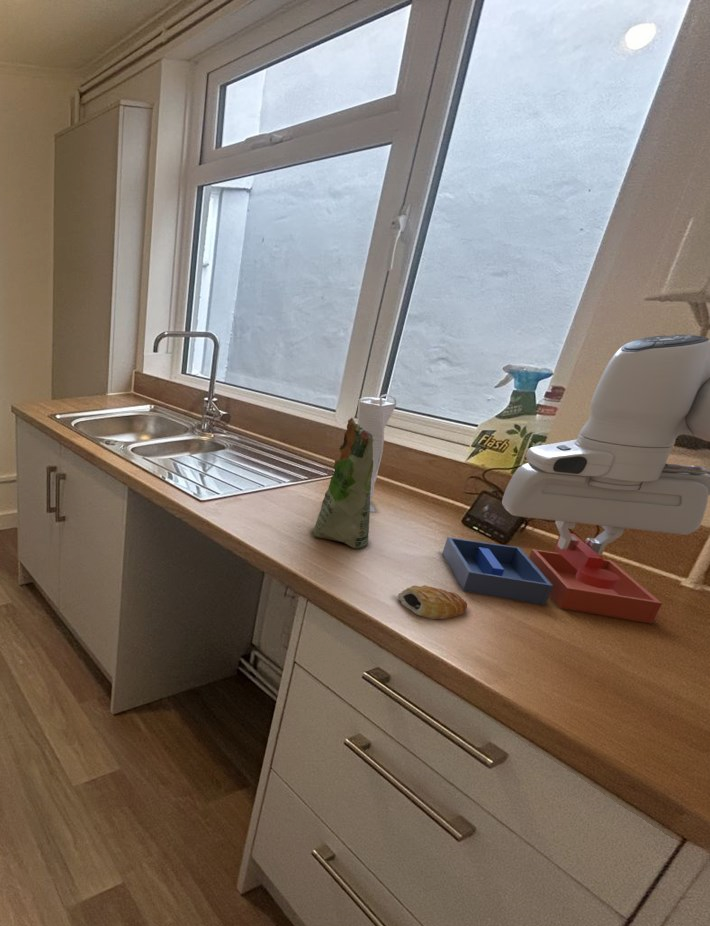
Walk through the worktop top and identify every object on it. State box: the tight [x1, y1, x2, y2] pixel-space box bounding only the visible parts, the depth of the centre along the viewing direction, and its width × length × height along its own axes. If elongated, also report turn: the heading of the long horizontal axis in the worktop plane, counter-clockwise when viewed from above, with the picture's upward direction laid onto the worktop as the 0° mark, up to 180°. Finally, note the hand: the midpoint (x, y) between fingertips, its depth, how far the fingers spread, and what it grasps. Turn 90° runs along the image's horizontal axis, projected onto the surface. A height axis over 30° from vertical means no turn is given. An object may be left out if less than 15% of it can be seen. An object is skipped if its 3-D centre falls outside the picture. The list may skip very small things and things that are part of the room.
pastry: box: [397, 584, 468, 620], centre depth 86 cm, size 9×7×4 cm
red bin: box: [528, 548, 663, 624], centre depth 90 cm, size 11×15×4 cm
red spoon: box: [553, 532, 620, 589], centre depth 75 cm, size 4×13×3 cm, turn 156°
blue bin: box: [441, 536, 553, 606], centre depth 95 cm, size 11×15×4 cm
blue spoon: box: [474, 547, 504, 576], centre depth 95 cm, size 4×13×3 cm, turn 155°
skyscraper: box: [357, 393, 397, 513], centre depth 122 cm, size 8×8×28 cm
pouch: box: [312, 417, 374, 550], centre depth 107 cm, size 11×12×25 cm
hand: (578, 550), depth 77 cm, fingers closed on red spoon
